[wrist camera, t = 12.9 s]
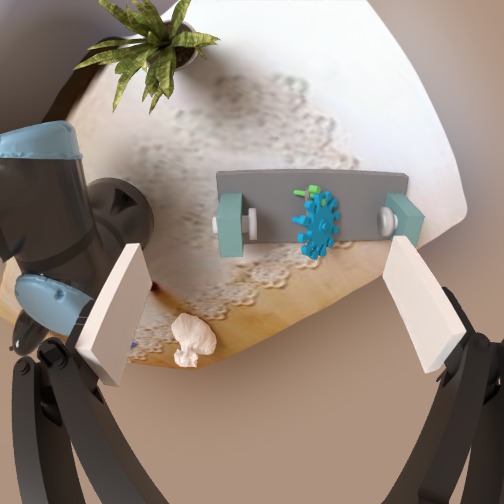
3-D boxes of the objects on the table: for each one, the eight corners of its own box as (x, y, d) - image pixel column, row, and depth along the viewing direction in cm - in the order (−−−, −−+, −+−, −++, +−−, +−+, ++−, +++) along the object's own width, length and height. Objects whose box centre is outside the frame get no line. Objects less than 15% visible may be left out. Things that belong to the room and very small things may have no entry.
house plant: (106, 58, 29) (36, 63, 16) (171, -13, 24) (127, -52, 10) (174, 113, 35) (129, 140, 22) (245, 44, 30) (241, 23, 16)
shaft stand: (221, 239, 48) (216, 274, 40) (213, 171, 41) (205, 197, 33) (393, 234, 47) (414, 265, 40) (406, 173, 40) (434, 197, 33)
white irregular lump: (175, 303, 60) (148, 345, 56) (190, 308, 54) (160, 355, 50) (213, 331, 66) (189, 370, 61) (231, 337, 60) (205, 381, 55)
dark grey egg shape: (20, 300, 59) (-4, 339, 47) (40, 298, 58) (15, 342, 46) (38, 324, 65) (19, 363, 52) (59, 324, 64) (39, 367, 52)
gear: (343, 244, 44) (308, 273, 39) (314, 236, 49) (276, 261, 43) (341, 177, 39) (302, 196, 34) (309, 173, 43) (267, 191, 38)
